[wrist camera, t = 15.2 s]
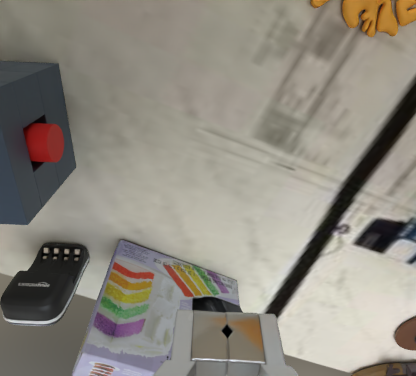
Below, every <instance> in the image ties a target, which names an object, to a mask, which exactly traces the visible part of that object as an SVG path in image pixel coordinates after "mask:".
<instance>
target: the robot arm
mask: <svg viewBox="0 0 416 376" xmlns="http://www.w3.org/2000/svg"><path fill="white" fill-rule="evenodd" d="M193 313H194V317H193ZM153 376H299V375H298V373H297V372H296V371H295V370H294V369H293V367H292V366H287V365H286V363H285V358H284V353H283V348H282V343H281V338H280V333H279V328H278V323H277V318H276V316H275V315H274V314H257V313H238V312H225V313H223V312H210V311H197V310H181V309H177V312H176V318H175V326H174V335H173V343H172V352H171V360H165V361H164V362H163V364H162V365H161V366H160V367H159V369H158V370H157V371H156V372H155V373H154V375H153Z"/></svg>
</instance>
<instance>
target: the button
mask: <svg viewBox="0 0 416 376" xmlns="http://www.w3.org/2000/svg"><path fill="white" fill-rule="evenodd" d="M23 132H24V136H25V140H26V144H27V148H28V152H29V157H30V161H37V162H58V161H59V160H60V159H61V157H62V155H63V150H64V137H63V133H62V130H61V128H60V127H59V126H58V125H57V124H45V123H31V124H29V125H28V126H26V127H25V128H23Z"/></svg>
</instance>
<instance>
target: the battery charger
mask: <svg viewBox="0 0 416 376" xmlns="http://www.w3.org/2000/svg"><path fill="white" fill-rule="evenodd" d="M89 259H90V258H89V256H88V252H87V250H86V248H85V247H84V246H81V245H75V244H57V243H47V244H44V245H42V247H41V248H40V250H39V252H38V254H37V257H36V259H35V261H34V262H33V264H32V265H31V267H30V268H29V269H28V271H19V272H18V273H17V274H16V275H15V277H14V278H13V279H12V281H11V282H10V284H9V285H8V287H7V288H6V290H5V291H4V293H3V295H2V297H1V301H0V305H1V308H2V311H3V317H4V319H5V320H6V321H7V322H8V323H10V324H15V325H28V326H50V325H53V324H55V323H57V322H58V321H59V320H60V319H61V318H62V317H63V315H64V314H65V312H66V310H67V308H68V306H69V304H70V302H71V300H72V298H73V296H74V294H75V291H76V289H77V287H78V284H79V282H80V279H81V277H82V275H83V273H84V271H85V268H86V267H87V265H88V263H89Z"/></svg>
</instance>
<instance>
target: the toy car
mask: <svg viewBox="0 0 416 376" xmlns="http://www.w3.org/2000/svg"><path fill="white" fill-rule="evenodd" d="M395 340H396V342H397V344H398V345H399V346H400V347H402V348H404V349H408V350H416V318H413V319H411V320H409V321H407V322H405V323H404V324H402V325H401V326H400V327H399V328H398V330H397V331H396V333H395Z"/></svg>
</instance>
